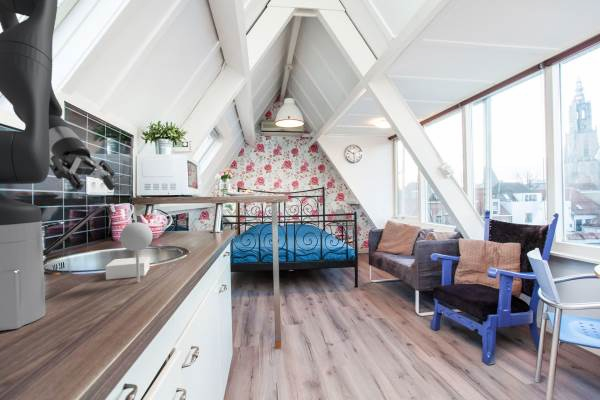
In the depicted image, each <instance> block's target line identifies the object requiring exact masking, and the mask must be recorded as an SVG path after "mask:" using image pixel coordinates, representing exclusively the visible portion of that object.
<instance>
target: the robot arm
mask: <svg viewBox="0 0 600 400" xmlns="http://www.w3.org/2000/svg"><path fill="white" fill-rule="evenodd" d="M58 3H59V2H58V0H0V26H1V29H2V31H1V32H0V93H1V94H2V95H3V97H4V98H5V99H6V100H7V101H8V102H9V103H10V104H11V105H12V110H13V112H14V114H15V116H17V118H19V120H20V121H21V122H23V124H24V125H25V128H24V130H22V131H21V130H20V131H17V130H3V129H0V185H32V184H41V183H43V182H45V180H46V179H47V178H48V175H49V172H50V169H51V171H52V173H53V174H54V177H55V178H57V179H58V180H61V179H64V180H65V181H68V183H69V184H70V185H71V187H72V188H73V189H75V190H76V191H81V190H82V189H83V187H84V185H85V184H84V182H83V181H82V180H81V178H80V177H79V175H80V176H81V175H85V176H90V177H92V178H94V179H99V180H101V181H102V183H103V184H104V185H105V187H106V188H107V190H109V191H113V190H114V189H115V187H116V186H117V185H116V182H115V181H114V180H113V177H114V176H115V175H116V172H115V171H114V170H113V169H112V168H111V167H110V165H109V164H108V163H107V162H106V160H104V159H101V160H100V161H95V160H94V159H92V158H91V152H90V150H89V149H88V147H86V144H84V142H83V141H82V139H80V137H79V136H78V135H77V134H76V133H75V132H74V131H73V130H72V128H71V127H70V126H69V124H68V123H67V122H66V121H65V120H64V119H63V118H62V115H63V108H62V107H61V104H60V102H59V100H58V99H57V96H56V95H55V92H54V91H55V90H54V89H53V84H52V80H53V79H52V77H53V40H54V39H53V38H54V30H55V25H56V19H57V13H58V5H59V4H58ZM17 15H21V16H25V17H27V18H26V19H24V20H23V21H21V22H20V21H19V20H18V17H17ZM51 154H52V155H51ZM50 156H51V157H50ZM95 169H96V170H97V171H96V172H95ZM67 170H68V171H67ZM94 172H95V173H94ZM101 174H102V175H103V176H102V175H101ZM42 219H43V217H42V209H41V208H40V207H39V206H38V205H35V204H33V203H28V202H23V201H19V200H17V199H13V198H11V197H8V196H6V195H4V194H3V193H1V192H0V331H7V330H15V329H20V328H21V327H23V326H26V325H27V324H31V323H33V322H35V321H38V320H39V319H42V318H43V317H45V316H46V314H47V313H46V292H45V268H44V267H45V265H44V248H43V247H44V245H43V243H44V242H43V221H42Z"/></svg>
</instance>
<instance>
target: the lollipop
mask: <svg viewBox="0 0 600 400" xmlns="http://www.w3.org/2000/svg"><path fill="white" fill-rule="evenodd" d="M153 236H154V235H153V231H152V229H151V227H150V226H148V224H145V223H143V222H140V221H139V222H138V221H135V222H131V223H129V224H126V226H124V228H122V230H121V232H120V236H119V239H120V243H121V245H122V247H124V248H125V249H126V250H129V251H131V252H135V258H136V271H137V277H136V283H141V279H140V278H141V276H140V270H139V257H140V251H143V250H145V249H147V248H148V247H149V246H150V245H151V243H152V242H153Z"/></svg>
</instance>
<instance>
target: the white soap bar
mask: <svg viewBox="0 0 600 400" xmlns="http://www.w3.org/2000/svg"><path fill="white" fill-rule="evenodd" d="M139 270H140V277H145V276H146V275H147V273H148V271H149V270H150V257H149V256H139ZM126 278H137V271H136V257H128V258H118V259H117V258H115V259H113V260H112V261H111V262H109V263H108V264H106V265H105V280H106V281H107V280H118V279H126Z"/></svg>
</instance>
